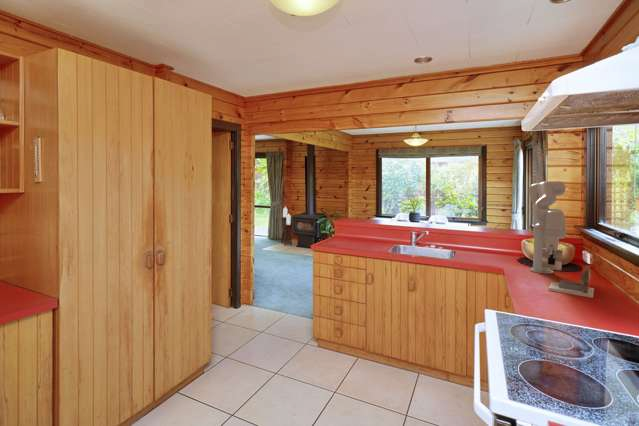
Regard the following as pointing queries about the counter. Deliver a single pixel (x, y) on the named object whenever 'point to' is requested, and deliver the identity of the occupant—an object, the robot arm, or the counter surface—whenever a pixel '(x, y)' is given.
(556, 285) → the white tile with rails
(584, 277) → the cabinet side
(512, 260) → the counter surface
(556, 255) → the beige rectangular block
